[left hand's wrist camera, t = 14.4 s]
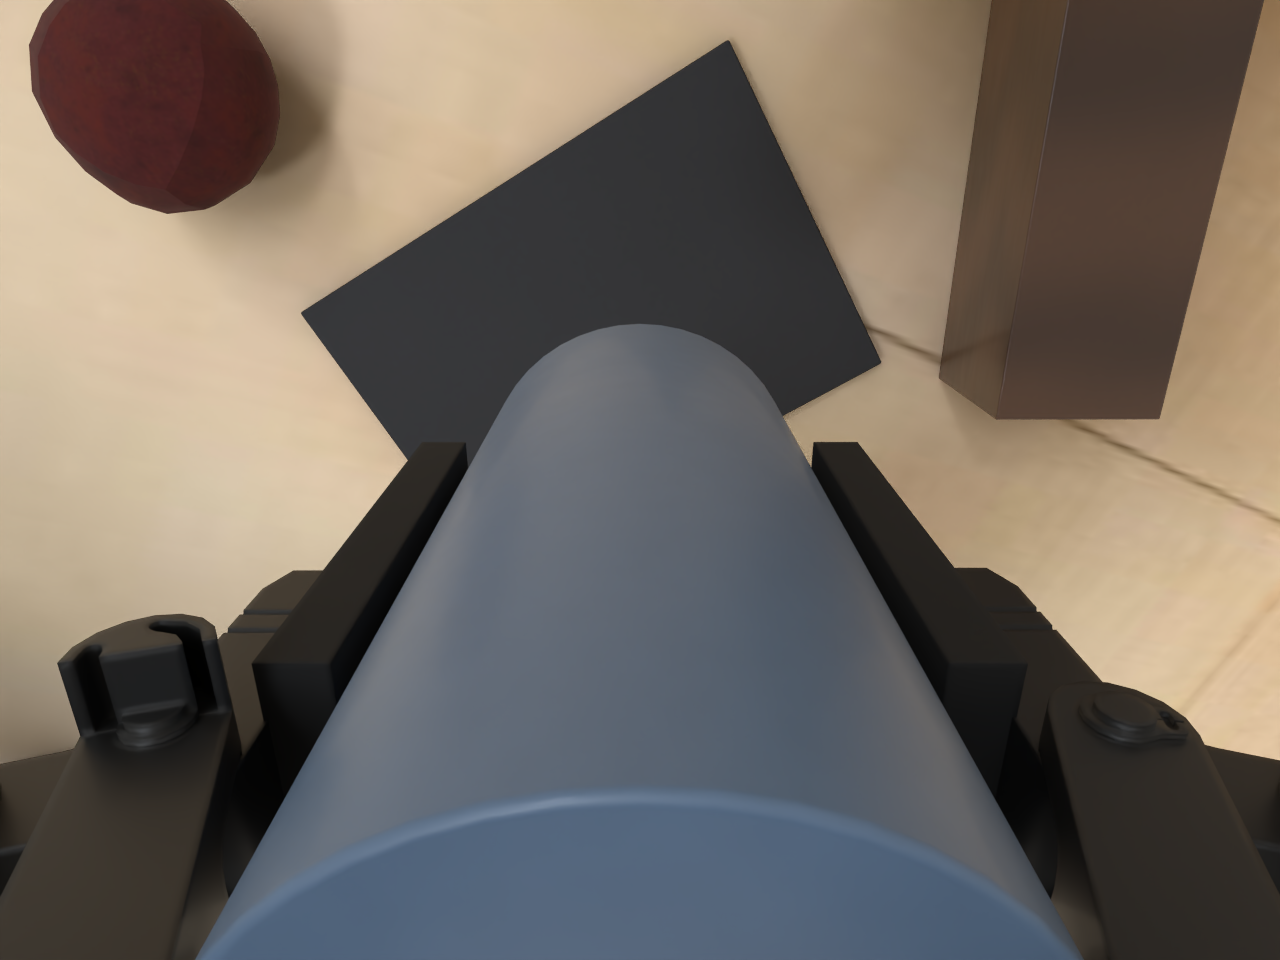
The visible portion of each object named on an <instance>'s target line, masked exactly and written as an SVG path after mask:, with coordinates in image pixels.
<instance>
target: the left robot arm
mask: <svg viewBox="0 0 1280 960" xmlns="http://www.w3.org/2000/svg"><path fill="white" fill-rule="evenodd" d="M811 468H812V470H813V472H814V474H815V476H816V477H817V479H818V481H819V483H820V485H821V486H822V488H823V490H824V492H825V494H826V495H827V497H828V499H829V501H830V503H831V504H832V506H833V508H834V510H835V512H836V513H837V515H838V517H839V519H840V521H841V522H842V524H843V526H844V528H845V530H846V531H847V533H848V535H849V537H850V539H851V541H852V542H853V544H854V546H855V548H856V550H857V551H858V553H859V555H860V557H861V559H862V560H863V562H864V564H865V566H866V568H867V569H868V571H869V573H870V575H871V577H872V578H873V580H874V582H875V584H876V586H877V587H878V589H879V591H880V593H881V595H882V596H883V598H884V600H885V602H886V604H887V605H888V607H889V609H890V611H891V613H892V614H893V616H894V618H895V620H896V622H897V623H898V625H899V627H900V629H901V631H902V632H903V634H904V636H905V638H906V640H907V641H908V643H909V645H910V647H911V649H912V651H913V652H914V654H915V656H916V658H917V660H918V661H919V663H920V665H921V667H922V669H923V670H924V672H925V674H926V676H927V678H928V679H929V681H930V683H931V685H932V687H933V688H934V690H935V692H936V694H937V696H938V697H939V699H940V701H941V703H942V705H943V706H944V708H945V710H946V712H947V714H948V715H949V717H950V719H951V721H952V723H953V724H954V726H955V728H956V730H957V732H958V733H959V735H960V737H961V739H962V741H963V742H964V744H965V746H966V748H967V750H968V752H969V753H970V755H971V757H972V759H973V761H974V762H975V764H976V766H977V768H978V770H979V771H980V773H981V775H982V777H983V779H984V780H985V782H986V784H987V786H988V788H989V789H990V791H991V793H992V795H993V797H994V798H995V800H996V802H997V804H998V806H999V807H1000V809H1001V811H1002V813H1003V815H1004V816H1005V818H1006V820H1007V822H1008V824H1009V825H1010V827H1011V829H1012V831H1013V833H1014V834H1015V836H1016V838H1017V840H1018V842H1019V843H1020V845H1021V847H1022V849H1023V851H1024V852H1025V854H1026V856H1027V858H1028V860H1029V862H1030V863H1031V865H1032V867H1033V869H1034V871H1035V872H1036V874H1037V876H1038V878H1039V880H1040V881H1041V883H1042V885H1043V887H1044V889H1045V890H1046V892H1047V894H1048V896H1049V898H1050V899H1051V901H1052V903H1053V905H1054V907H1055V908H1056V910H1057V912H1058V914H1059V916H1060V917H1061V919H1062V921H1063V923H1064V925H1065V926H1066V928H1067V930H1068V932H1069V934H1070V935H1071V937H1072V939H1073V941H1074V943H1075V944H1076V946H1077V948H1078V950H1079V952H1080V953H1081V955H1082V957H1083V959H1084V960H1280V760H1275V759H1270V758H1264V757H1259V756H1254V755H1249V754H1244V753H1239V752H1234V751H1229V750H1224V749H1219V748H1215V747H1211V746H1207V745H1204V743H1203V741H1202V739H1201V737H1200V735H1199V734H1198V732H1197V731H1196V730H1195V729H1194V727H1193V726H1192V725H1191V724H1190V722H1189V721H1188V720H1187V719H1186V718H1185V717H1184V716H1182V715H1181V714H1180V713H1178V712H1177V711H1175V710H1174V709H1172V708H1171V707H1170V706H1168V705H1167V704H1165V703H1164V702H1162V701H1160V700H1157V699H1155V698H1153V697H1151V696H1148V695H1146V694H1144V693H1142V692H1139V691H1137V690H1134V689H1131V688H1127V687H1123V686H1119V685H1115V684H1111V683H1106V682H1102V681H1101V680H1100V679H1099V678H1098V676H1097V675H1096V674H1095V673H1094V672H1093V671H1092V670H1091V669H1090V667H1089V666H1088V665H1087V664H1086V663H1085V662H1084V661H1083V660H1082V658H1081V657H1080V656H1079V655H1078V654H1077V653H1076V652H1075V650H1074V649H1073V648H1072V647H1071V646H1070V645H1069V644H1068V643H1067V641H1066V640H1065V639H1064V638H1063V637H1062V636H1061V635H1060V634H1059V632H1058V631H1057V630H1052V625H1051V623H1050V622H1049V621H1048V620H1047V619H1046V618H1045V617H1044V616H1043V614H1042V613H1041V612H1037V611H1036V606H1035V605H1034V604H1033V603H1032V602H1031V601H1030V600H1029V599H1028V597H1027V596H1026V595H1025V594H1024V593H1023V592H1022V591H1021V590H1020V588H1019V587H1018V586H1016V585H1015V584H1013V583H1011V582H1010V581H1008V580H1006V579H1004V578H1003V577H1001V576H999V575H998V574H996V573H994V572H993V571H991V570H989V569H987V568H954V567H953V565H952V564H951V563H950V562H949V560H948V559H947V558H946V556H945V555H944V554H943V553H942V551H941V550H940V549H939V547H938V546H937V545H936V543H935V542H934V541H933V540H932V538H931V537H930V536H929V534H928V533H927V532H926V530H925V529H924V528H923V527H922V525H921V524H920V523H919V521H918V520H917V519H916V518H915V516H914V515H913V514H912V512H911V511H910V510H909V508H908V507H907V506H906V505H905V503H904V502H903V501H902V499H901V498H900V497H899V495H898V494H897V493H896V492H895V490H894V489H893V488H892V486H891V485H890V484H889V483H888V481H887V480H886V479H885V477H884V476H883V475H882V473H881V472H880V471H879V470H878V468H877V467H876V466H875V464H874V463H873V462H872V460H871V459H870V458H869V457H868V455H867V454H866V453H865V451H864V450H863V449H862V448H861V446H860V445H859V444H858V442H814V443H813V455H812V467H811ZM467 470H468V461H467V449H466V442H422V443H421V444H420V446H419V447H418V448H417V449H416V451H415V452H414V453H413V455H412V456H411V457H410V459H409V460H408V461H407V462H406V464H405V465H404V466H403V468H402V469H401V470H400V471H399V473H398V474H397V475H396V477H395V478H394V479H393V481H392V482H391V483H390V484H389V486H388V487H387V488H386V490H385V491H384V492H383V494H382V495H381V496H380V497H379V499H378V500H377V501H376V503H375V504H374V505H373V506H372V508H371V509H370V510H369V512H368V513H367V514H366V516H365V517H364V518H363V519H362V521H361V522H360V523H359V525H358V526H357V527H356V529H355V530H354V531H353V532H352V534H351V535H350V536H349V538H348V539H347V540H346V541H345V543H344V544H343V545H342V547H341V548H340V549H339V551H338V552H337V553H336V554H335V556H334V557H333V558H332V560H331V561H330V562H329V564H328V565H327V566H326V567H325V569H324V570H323V571H292V572H290V573H289V574H287V575H285V576H283V577H282V578H280V579H278V580H277V581H275V582H273V583H272V584H270V585H268V586H267V587H265V588H263V589H262V590H261V591H260V592H259V593H258V595H257V596H256V597H255V598H254V599H253V600H252V601H251V603H250V604H249V605H248V606H247V607H246V608H245V609H244V614H243V615H239V616H238V617H237V618H236V620H235V621H234V622H233V623H232V624H231V625H230V626H229V628H228V633H223V634H222V636H221V637H220V638H219V639H217V634H216V630H215V626H214V625H212V624H211V623H209V622H208V621H207V620H205V619H204V618H202V617H196V616H190V615H185V614H172V615H155V616H150V617H146V618H141V619H137V620H132V621H128V622H124V623H121V624H119V625H116V626H114V627H111V628H108V629H106V630H103V631H101V632H98V633H96V634H94V635H92V636H91V637H89V638H87V639H86V640H84V641H82V642H81V643H79V644H77V645H76V646H74V647H72V648H71V649H70V650H69V651H68V652H67V654H66V655H65V656H64V657H63V658H62V659H61V660H60V661H59V662H58V663H57V664H58V667H59V670H60V673H61V677H62V680H63V683H64V686H65V689H66V692H67V695H68V699H69V702H70V705H71V708H72V711H73V714H74V717H75V720H76V724H77V727H78V730H79V733H80V738H79V740H78V742H77V744H76V746H75V748H74V749H71V750H67V751H64V752H59V753H54V754H49V755H44V756H39V757H34V758H29V759H24V760H19V761H14V762H9V763H4V764H0V960H195V959H196V957H197V955H198V953H199V952H200V950H201V948H202V946H203V944H204V943H205V941H206V939H207V937H208V935H209V934H210V932H211V930H212V928H213V926H214V925H215V923H216V921H217V919H218V918H219V916H220V914H221V912H222V910H223V909H224V907H225V905H226V903H227V901H228V900H229V898H230V896H231V894H232V892H233V891H234V889H235V887H236V885H237V883H238V882H239V880H240V878H241V876H242V874H243V873H244V871H245V869H246V867H247V865H248V864H249V862H250V860H251V858H252V856H253V855H254V853H255V851H256V849H257V847H258V846H259V844H260V842H261V840H262V838H263V837H264V835H265V833H266V831H267V829H268V828H269V826H270V824H271V822H272V820H273V819H274V817H275V815H276V813H277V811H278V810H279V808H280V806H281V804H282V802H283V801H284V799H285V797H286V795H287V793H288V792H289V790H290V788H291V786H292V784H293V783H294V781H295V779H296V777H297V775H298V774H299V772H300V770H301V768H302V766H303V765H304V763H305V761H306V759H307V758H308V756H309V754H310V752H311V750H312V749H313V747H314V745H315V743H316V741H317V740H318V738H319V736H320V734H321V732H322V731H323V729H324V727H325V725H326V723H327V722H328V720H329V718H330V716H331V714H332V713H333V711H334V709H335V707H336V705H337V704H338V702H339V700H340V698H341V696H342V695H343V693H344V691H345V689H346V687H347V686H348V684H349V682H350V680H351V678H352V677H353V675H354V673H355V671H356V669H357V668H358V666H359V664H360V662H361V660H362V659H363V657H364V655H365V653H366V651H367V650H368V648H369V646H370V644H371V642H372V641H373V639H374V637H375V635H376V633H377V632H378V630H379V628H380V626H381V624H382V623H383V621H384V619H385V617H386V615H387V614H388V612H389V610H390V608H391V606H392V605H393V603H394V601H395V599H396V598H397V596H398V594H399V592H400V590H401V589H402V587H403V585H404V583H405V581H406V580H407V578H408V576H409V574H410V572H411V571H412V569H413V567H414V565H415V563H416V562H417V560H418V558H419V556H420V554H421V553H422V551H423V549H424V547H425V545H426V544H427V542H428V540H429V538H430V536H431V535H432V533H433V531H434V529H435V527H436V526H437V524H438V522H439V520H440V518H441V517H442V515H443V513H444V511H445V509H446V508H447V506H448V504H449V502H450V500H451V499H452V497H453V495H454V493H455V491H456V490H457V488H458V486H459V484H460V482H461V481H462V479H463V477H464V475H465V473H466V472H467Z"/></svg>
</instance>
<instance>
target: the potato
mask: <svg viewBox="0 0 1280 960" xmlns="http://www.w3.org/2000/svg"><path fill="white" fill-rule="evenodd" d="M29 51H30V66H31V82H32V92H33V94H34V96H35V98H36V100H37V102H38V104H39V106H40V108H41V110H42V112H43V114H44V116H45V118H46V120H47V122H48V124H49V126H50V128H51V130H52V132H53V134H54V136H55V138H56V139H57V140H58V141H59V142H60V143H61V144H62V145H63V147H64V148H65V149H66V150H67V151H68V152H69V153H70V154H71V156H72V157H73V158H74V159H75V160H76V161H77V162H78V163H79V165H80V166H81V167H82V168H83V169H84V170H85V171H86V172H87V173H88V174H90V175H91V176H93V177H94V178H95V179H97V180H98V181H99V182H101V183H102V184H103V185H105V186H106V187H108V188H109V189H110V190H112V191H113V192H114V193H116V194H117V195H119V196H120V197H122V198H124V199H125V200H127V201H129V202H130V203H132V204H136V205H139V206H142V207H146V208H149V209H153V210H156V211H160V212H163V213H166V214H170V213H179V212H187V211H196V210H204V209H207V208H209V207H212V206H214V205H216V204H218V203H219V202H221V201H223V200H224V199H226V198H227V197H229V196H230V195H232V194H234V193H235V192H237V191H238V190H240V189H241V188H243V187H245V186H246V185H248V184H249V183H250V182H251V181H252V179H253V178H254V176H255V175H256V173H257V171H258V170H259V168H260V167H261V165H262V164H263V162H264V161H265V159H266V157H267V156H268V154H269V153H270V151H271V150H272V148H273V146H274V145H275V139H276V134H277V128H278V123H279V117H280V107H279V94H278V85H277V81H276V78H275V74H274V71H273V67H272V64H271V60H270V58H269V56H268V54H267V53H266V51H265V49H264V47H263V45H262V44H261V42H260V40H259V38H258V36H257V34H256V33H255V32H254V30H253V29H252V28H251V27H250V26H249V25H248V24H247V22H246V21H245V20H244V19H243V18H242V17H241V16H240V14H239V13H238V12H237V11H236V10H235V9H234V8H233V7H232V6H231V5H230V4H229V3H228V2H227V1H225V0H53V2H52V3H51V4H50V5H49V6H48V7H47V9H46V10H45V11H44V12H43V13H42V15H41V18H40V20H39V23H38V25H37V27H36V30H35V32H34V35H33V37H32V39H31V42H30V44H29Z"/></svg>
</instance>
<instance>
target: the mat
mask: <svg viewBox="0 0 1280 960" xmlns="http://www.w3.org/2000/svg"><path fill="white" fill-rule="evenodd" d="M301 314H302V316H303V317H304V318H305V320H306V321H307V323H308V324H309V325H310V327H311V328H312V329H313V331H314V332H315V334H316V335H317V336H318V338H319V339H320V340H321V342H322V343H323V344H324V346H325V347H326V349H327V350H328V351H329V353H330V354H331V355H332V357H333V358H334V360H335V361H336V362H337V364H338V365H339V366H340V368H341V369H342V370H343V372H344V373H345V375H346V376H347V377H348V379H349V380H350V381H351V383H352V384H353V386H354V387H355V388H356V390H357V391H358V392H359V394H360V395H361V397H362V398H363V399H364V401H365V402H366V403H367V405H368V406H369V407H370V409H371V410H372V412H373V413H374V414H375V416H376V417H377V418H378V420H379V421H380V423H381V424H382V425H383V427H384V428H385V429H386V431H387V432H388V434H389V435H390V436H391V438H392V439H393V440H394V442H395V443H396V444H397V446H398V447H399V449H400V450H401V451H402V453H403V454H404V455H405V457H406V458H407V460H409V459H410V457H411V456H412V455H413V453H414V452H415V451H416V449H417V448H418V447H419V446H420V444H421V443H422V442H466V449H467V461H468V468H469V466H470V464H471V463H472V461H473V459H474V457H475V455H476V454H477V452H478V450H479V448H480V446H481V445H482V443H483V441H484V439H485V438H486V436H487V434H488V432H489V430H490V429H491V427H492V425H493V423H494V421H495V420H496V418H497V416H498V414H499V412H500V411H501V409H502V407H503V405H504V403H505V402H506V400H507V398H508V397H509V395H510V394H511V392H512V390H513V389H514V387H515V386H516V384H517V383H518V382H519V381H520V380H521V378H522V377H523V376H524V375H525V374H526V372H527V371H528V370H529V369H530V368H531V367H532V366H534V365H535V364H536V363H537V362H538V361H539V360H540V359H541V358H542V357H544V356H545V355H547V354H548V353H550V352H551V351H552V350H554V349H555V348H557V347H558V346H560V345H562V344H564V343H566V342H568V341H570V340H572V339H574V338H576V337H578V336H580V335H583V334H586V333H589V332H592V331H595V330H598V329H603V328H608V327H613V326H618V325H630V324H650V325H662V326H667V327H672V328H677V329H682V330H685V331H688V332H691V333H694V334H697V335H700V336H702V337H704V338H706V339H708V340H710V341H712V342H714V343H716V344H718V345H720V346H722V347H723V348H725V349H726V350H727V351H729V352H730V353H732V354H733V355H735V356H736V357H737V358H739V359H740V360H741V361H742V362H743V363H744V364H745V365H746V366H747V367H749V368H750V369H751V370H752V371H753V373H754V374H755V375H756V376H757V377H758V378H759V380H760V381H761V382H762V383H763V384H764V386H765V387H766V389H767V390H768V392H769V394H770V395H771V397H772V398H773V400H774V402H775V403H776V405H777V407H778V409H779V411H780V412H781V414H782V416H783V415H785V414H787V413H789V412H791V411H793V410H795V409H796V408H798V407H800V406H802V405H804V404H806V403H808V402H810V401H811V400H813V399H815V398H817V397H819V396H821V395H823V394H825V393H826V392H828V391H830V390H832V389H834V388H836V387H838V386H839V385H841V384H843V383H845V382H847V381H849V380H851V379H853V378H854V377H856V376H858V375H860V374H862V373H864V372H866V371H868V370H869V369H871V368H873V367H875V366H877V365H879V364H880V363H881V360H880V358H879V356H878V354H877V352H876V350H875V348H874V345H873V343H872V341H871V339H870V337H869V335H868V333H867V331H866V329H865V326H864V324H863V322H862V320H861V318H860V316H859V314H858V312H857V310H856V307H855V305H854V303H853V301H852V299H851V297H850V295H849V293H848V291H847V288H846V286H845V284H844V282H843V280H842V278H841V276H840V274H839V272H838V269H837V267H836V265H835V263H834V261H833V259H832V257H831V255H830V253H829V250H828V248H827V246H826V244H825V242H824V240H823V238H822V236H821V234H820V231H819V229H818V227H817V225H816V223H815V221H814V219H813V217H812V215H811V212H810V210H809V208H808V206H807V204H806V202H805V200H804V198H803V195H802V193H801V191H800V189H799V187H798V185H797V183H796V181H795V179H794V176H793V174H792V172H791V170H790V168H789V166H788V164H787V162H786V160H785V157H784V155H783V153H782V151H781V149H780V147H779V145H778V143H777V141H776V138H775V136H774V134H773V132H772V130H771V128H770V126H769V124H768V122H767V119H766V117H765V115H764V113H763V111H762V109H761V107H760V105H759V103H758V100H757V98H756V96H755V94H754V92H753V90H752V88H751V86H750V84H749V81H748V79H747V77H746V75H745V73H744V71H743V69H742V67H741V65H740V62H739V60H738V58H737V56H736V54H735V52H734V50H733V48H732V46H731V43H730V41H725V42H724V43H722V44H721V45H719V46H718V47H716V48H715V49H713V50H711V51H710V52H708V53H707V54H705V55H704V56H702V57H700V58H699V59H697V60H696V61H694V62H693V63H691V64H689V65H688V66H686V67H685V68H683V69H682V70H680V71H679V72H677V73H675V74H674V75H672V76H671V77H669V78H668V79H666V80H664V81H663V82H661V83H660V84H658V85H657V86H655V87H653V88H652V89H650V90H649V91H647V92H646V93H644V94H642V95H641V96H639V97H638V98H636V99H635V100H633V101H632V102H630V103H628V104H627V105H625V106H624V107H622V108H621V109H619V110H617V111H616V112H614V113H613V114H611V115H610V116H608V117H606V118H605V119H603V120H602V121H600V122H599V123H597V124H595V125H594V126H592V127H591V128H589V129H588V130H586V131H585V132H583V133H581V134H580V135H578V136H577V137H575V138H574V139H572V140H570V141H569V142H567V143H566V144H564V145H563V146H561V147H559V148H558V149H556V150H555V151H553V152H552V153H550V154H549V155H547V156H545V157H544V158H542V159H541V160H539V161H538V162H536V163H534V164H533V165H531V166H530V167H528V168H527V169H525V170H523V171H522V172H520V173H519V174H517V175H516V176H514V177H512V178H511V179H509V180H508V181H506V182H505V183H503V184H502V185H500V186H498V187H497V188H495V189H494V190H492V191H491V192H489V193H487V194H486V195H484V196H483V197H481V198H480V199H478V200H476V201H475V202H473V203H472V204H470V205H469V206H467V207H466V208H464V209H462V210H461V211H459V212H458V213H456V214H455V215H453V216H451V217H450V218H448V219H447V220H445V221H444V222H442V223H440V224H439V225H437V226H436V227H434V228H433V229H431V230H429V231H428V232H426V233H425V234H423V235H422V236H420V237H419V238H417V239H415V240H414V241H412V242H411V243H409V244H408V245H406V246H404V247H403V248H401V249H400V250H398V251H397V252H395V253H393V254H392V255H390V256H389V257H387V258H386V259H384V260H382V261H381V262H379V263H378V264H376V265H375V266H373V267H372V268H370V269H368V270H367V271H365V272H364V273H362V274H361V275H359V276H357V277H356V278H354V279H353V280H351V281H350V282H348V283H346V284H345V285H343V286H342V287H340V288H339V289H337V290H336V291H334V292H332V293H331V294H329V295H328V296H326V297H325V298H323V299H321V300H320V301H318V302H317V303H315V304H314V305H312V306H310V307H309V308H307V309H306V310H304V311H303V312H302V313H301Z"/></svg>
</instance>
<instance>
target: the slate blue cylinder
mask: <svg viewBox="0 0 1280 960" xmlns="http://www.w3.org/2000/svg"><path fill="white" fill-rule="evenodd" d="M195 960H1084V959H1083V957H1082V955H1081V953H1080V952H1079V950H1078V948H1077V946H1076V944H1075V943H1074V941H1073V939H1072V937H1071V935H1070V934H1069V932H1068V930H1067V928H1066V926H1065V925H1064V923H1063V921H1062V919H1061V917H1060V916H1059V914H1058V912H1057V910H1056V908H1055V907H1054V905H1053V903H1052V901H1051V899H1050V898H1049V896H1048V894H1047V892H1046V890H1045V889H1044V887H1043V885H1042V883H1041V881H1040V880H1039V878H1038V876H1037V874H1036V872H1035V871H1034V869H1033V867H1032V865H1031V863H1030V862H1029V860H1028V858H1027V856H1026V854H1025V852H1024V851H1023V849H1022V847H1021V845H1020V843H1019V842H1018V840H1017V838H1016V836H1015V834H1014V833H1013V831H1012V829H1011V827H1010V825H1009V824H1008V822H1007V820H1006V818H1005V816H1004V815H1003V813H1002V811H1001V809H1000V807H999V806H998V804H997V802H996V800H995V798H994V797H993V795H992V793H991V791H990V789H989V788H988V786H987V784H986V782H985V780H984V779H983V777H982V775H981V773H980V771H979V770H978V768H977V766H976V764H975V762H974V761H973V759H972V757H971V755H970V753H969V752H968V750H967V748H966V746H965V744H964V742H963V741H962V739H961V737H960V735H959V733H958V732H957V730H956V728H955V726H954V724H953V723H952V721H951V719H950V717H949V715H948V714H947V712H946V710H945V708H944V706H943V705H942V703H941V701H940V699H939V697H938V696H937V694H936V692H935V690H934V688H933V687H932V685H931V683H930V681H929V679H928V678H927V676H926V674H925V672H924V670H923V669H922V667H921V665H920V663H919V661H918V660H917V658H916V656H915V654H914V652H913V651H912V649H911V647H910V645H909V643H908V641H907V640H906V638H905V636H904V634H903V632H902V631H901V629H900V627H899V625H898V623H897V622H896V620H895V618H894V616H893V614H892V613H891V611H890V609H889V607H888V605H887V604H886V602H885V600H884V598H883V596H882V595H881V593H880V591H879V589H878V587H877V586H876V584H875V582H874V580H873V578H872V577H871V575H870V573H869V571H868V569H867V568H866V566H865V564H864V562H863V560H862V559H861V557H860V555H859V553H858V551H857V550H856V548H855V546H854V544H853V542H852V541H851V539H850V537H849V535H848V533H847V531H846V530H845V528H844V526H843V524H842V522H841V521H840V519H839V517H838V515H837V513H836V512H835V510H834V508H833V506H832V504H831V503H830V501H829V499H828V497H827V495H826V494H825V492H824V490H823V488H822V486H821V485H820V483H819V481H818V479H817V477H816V476H815V474H814V472H813V470H812V468H811V467H810V465H809V463H808V461H807V459H806V458H805V456H804V454H803V452H802V450H801V449H800V447H799V445H798V443H797V441H796V440H795V438H794V436H793V434H792V432H791V430H790V429H789V427H788V425H787V423H786V421H785V420H784V418H783V416H782V414H781V412H780V411H779V409H778V407H777V405H776V403H775V402H774V400H773V398H772V397H771V395H770V394H769V392H768V390H767V389H766V387H765V386H764V384H763V383H762V382H761V381H760V380H759V378H758V377H757V376H756V375H755V374H754V373H753V371H752V370H751V369H750V368H749V367H747V366H746V365H745V364H744V363H743V362H742V361H741V360H740V359H739V358H737V357H736V356H735V355H733V354H732V353H730V352H729V351H727V350H726V349H725V348H723V347H722V346H720V345H718V344H716V343H714V342H712V341H710V340H708V339H706V338H704V337H702V336H700V335H697V334H694V333H691V332H688V331H685V330H682V329H677V328H672V327H667V326H662V325H650V324H630V325H618V326H613V327H608V328H603V329H598V330H595V331H592V332H589V333H586V334H583V335H580V336H578V337H576V338H574V339H572V340H570V341H568V342H566V343H564V344H562V345H560V346H558V347H557V348H555V349H554V350H552V351H551V352H550V353H548V354H547V355H545V356H544V357H542V358H541V359H540V360H539V361H538V362H537V363H536V364H535V365H534V366H532V367H531V368H530V369H529V370H528V371H527V372H526V374H525V375H524V376H523V377H522V378H521V380H520V381H519V382H518V383H517V384H516V386H515V387H514V389H513V390H512V392H511V394H510V395H509V397H508V398H507V400H506V402H505V403H504V405H503V407H502V409H501V411H500V412H499V414H498V416H497V418H496V420H495V421H494V423H493V425H492V427H491V429H490V430H489V432H488V434H487V436H486V438H485V439H484V441H483V443H482V445H481V446H480V448H479V450H478V452H477V454H476V455H475V457H474V459H473V461H472V463H471V464H470V466H469V468H468V470H467V472H466V473H465V475H464V477H463V479H462V481H461V482H460V484H459V486H458V488H457V490H456V491H455V493H454V495H453V497H452V499H451V500H450V502H449V504H448V506H447V508H446V509H445V511H444V513H443V515H442V517H441V518H440V520H439V522H438V524H437V526H436V527H435V529H434V531H433V533H432V535H431V536H430V538H429V540H428V542H427V544H426V545H425V547H424V549H423V551H422V553H421V554H420V556H419V558H418V560H417V562H416V563H415V565H414V567H413V569H412V571H411V572H410V574H409V576H408V578H407V580H406V581H405V583H404V585H403V587H402V589H401V590H400V592H399V594H398V596H397V598H396V599H395V601H394V603H393V605H392V606H391V608H390V610H389V612H388V614H387V615H386V617H385V619H384V621H383V623H382V624H381V626H380V628H379V630H378V632H377V633H376V635H375V637H374V639H373V641H372V642H371V644H370V646H369V648H368V650H367V651H366V653H365V655H364V657H363V659H362V660H361V662H360V664H359V666H358V668H357V669H356V671H355V673H354V675H353V677H352V678H351V680H350V682H349V684H348V686H347V687H346V689H345V691H344V693H343V695H342V696H341V698H340V700H339V702H338V704H337V705H336V707H335V709H334V711H333V713H332V714H331V716H330V718H329V720H328V722H327V723H326V725H325V727H324V729H323V731H322V732H321V734H320V736H319V738H318V740H317V741H316V743H315V745H314V747H313V749H312V750H311V752H310V754H309V756H308V758H307V759H306V761H305V763H304V765H303V766H302V768H301V770H300V772H299V774H298V775H297V777H296V779H295V781H294V783H293V784H292V786H291V788H290V790H289V792H288V793H287V795H286V797H285V799H284V801H283V802H282V804H281V806H280V808H279V810H278V811H277V813H276V815H275V817H274V819H273V820H272V822H271V824H270V826H269V828H268V829H267V831H266V833H265V835H264V837H263V838H262V840H261V842H260V844H259V846H258V847H257V849H256V851H255V853H254V855H253V856H252V858H251V860H250V862H249V864H248V865H247V867H246V869H245V871H244V873H243V874H242V876H241V878H240V880H239V882H238V883H237V885H236V887H235V889H234V891H233V892H232V894H231V896H230V898H229V900H228V901H227V903H226V905H225V907H224V909H223V910H222V912H221V914H220V916H219V918H218V919H217V921H216V923H215V925H214V926H213V928H212V930H211V932H210V934H209V935H208V937H207V939H206V941H205V943H204V944H203V946H202V948H201V950H200V952H199V953H198V955H197V957H196V959H195Z"/></svg>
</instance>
